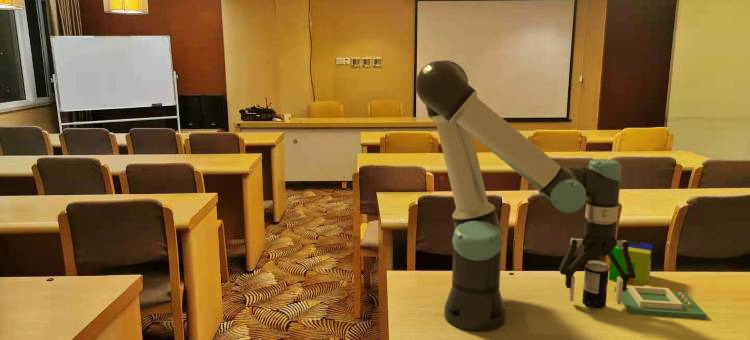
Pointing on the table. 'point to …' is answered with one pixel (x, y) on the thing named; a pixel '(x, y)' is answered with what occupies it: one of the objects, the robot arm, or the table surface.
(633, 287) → the header board
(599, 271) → the beverage can
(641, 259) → the puzzle toy
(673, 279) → the table surface
